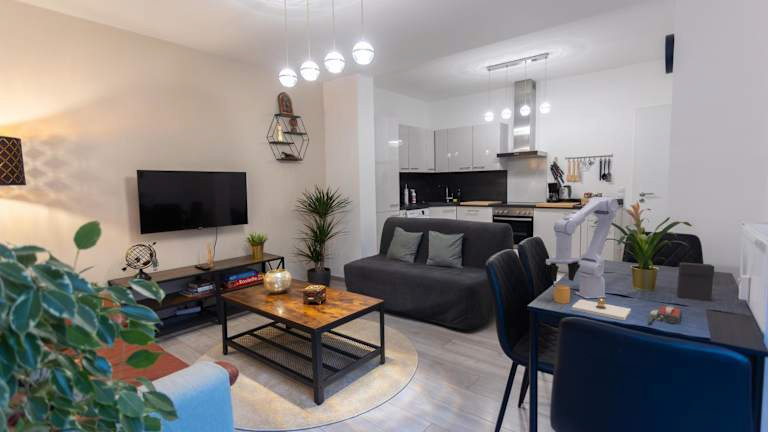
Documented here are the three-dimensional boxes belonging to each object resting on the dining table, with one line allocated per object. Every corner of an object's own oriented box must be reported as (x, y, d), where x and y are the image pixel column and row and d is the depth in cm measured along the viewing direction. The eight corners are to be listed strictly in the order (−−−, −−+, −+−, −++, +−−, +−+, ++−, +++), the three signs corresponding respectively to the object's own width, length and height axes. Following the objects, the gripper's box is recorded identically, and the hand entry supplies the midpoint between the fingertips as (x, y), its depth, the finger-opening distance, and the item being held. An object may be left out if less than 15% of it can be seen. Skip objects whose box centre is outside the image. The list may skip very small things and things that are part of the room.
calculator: (708, 298, 161) (710, 264, 160) (711, 301, 157) (714, 266, 156) (676, 295, 166) (678, 261, 164) (679, 298, 162) (681, 263, 160)
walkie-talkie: (654, 310, 148) (645, 325, 134) (654, 299, 148) (646, 313, 133) (682, 315, 143) (676, 332, 128) (683, 304, 142) (677, 319, 127)
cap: (563, 298, 163) (564, 284, 162) (572, 303, 157) (572, 287, 156) (551, 299, 162) (552, 284, 161) (559, 303, 156) (560, 288, 156)
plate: (571, 309, 149) (571, 298, 149) (580, 302, 158) (580, 291, 158) (624, 320, 137) (625, 308, 137) (630, 311, 146) (631, 300, 146)
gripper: (553, 251, 152) (551, 284, 154) (586, 249, 154) (584, 282, 156) (543, 247, 159) (542, 279, 161) (575, 246, 161) (573, 277, 163)
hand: (562, 280), depth 159 cm, fingers open, 7 cm apart
